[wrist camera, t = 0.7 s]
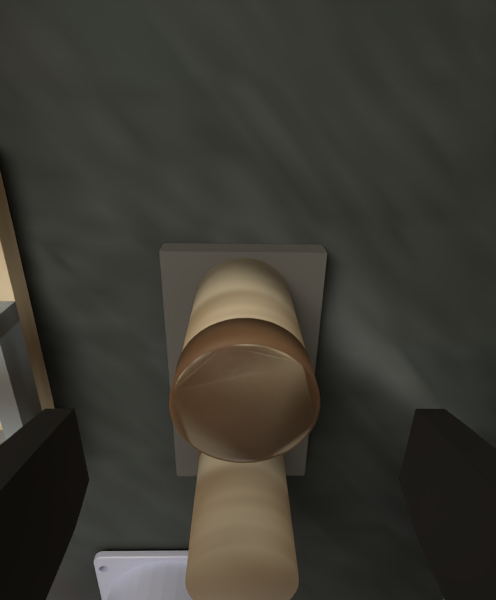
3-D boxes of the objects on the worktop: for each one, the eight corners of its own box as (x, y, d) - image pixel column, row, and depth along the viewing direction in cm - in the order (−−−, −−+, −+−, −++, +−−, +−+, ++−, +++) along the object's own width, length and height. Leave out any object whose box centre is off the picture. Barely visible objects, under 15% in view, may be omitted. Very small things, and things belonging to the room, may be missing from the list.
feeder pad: (301, 459, 20) (304, 475, 19) (179, 459, 20) (176, 476, 19) (322, 244, 16) (327, 252, 15) (163, 242, 15) (159, 251, 15)
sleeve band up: (289, 344, 16) (313, 462, 11) (195, 344, 16) (173, 463, 11) (294, 256, 15) (327, 342, 9) (192, 255, 15) (163, 342, 9)
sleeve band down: (280, 473, 19) (296, 616, 14) (201, 473, 19) (186, 617, 14) (284, 410, 18) (304, 544, 12) (198, 411, 18) (180, 545, 12)
